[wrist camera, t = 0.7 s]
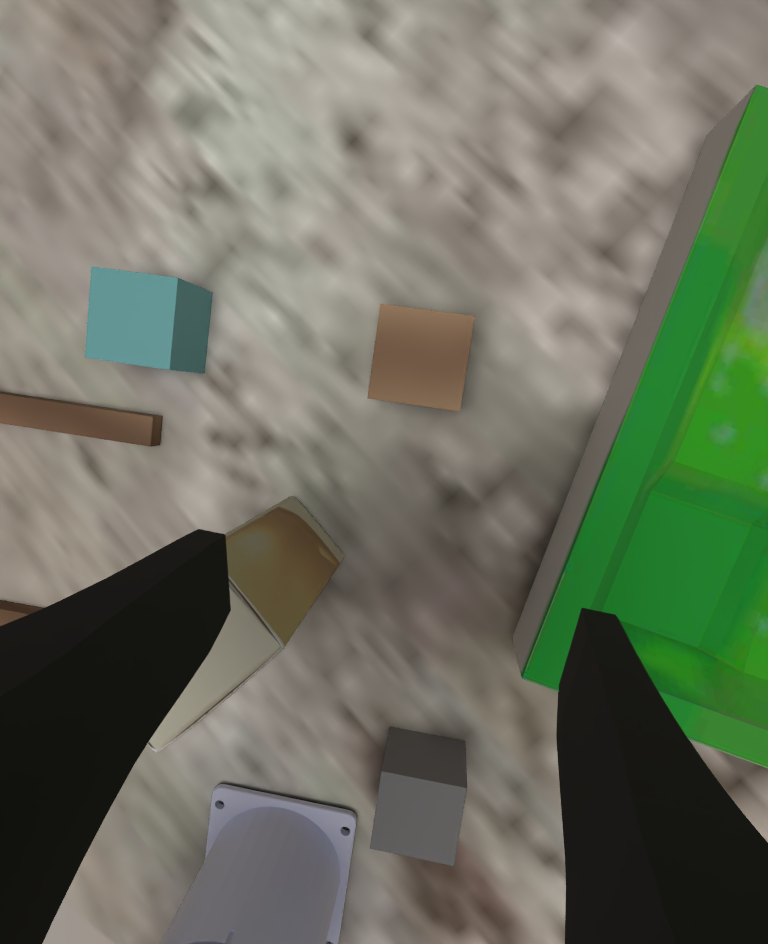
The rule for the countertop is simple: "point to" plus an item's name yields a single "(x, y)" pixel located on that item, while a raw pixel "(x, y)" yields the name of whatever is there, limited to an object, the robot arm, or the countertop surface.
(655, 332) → the tray
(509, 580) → the countertop surface
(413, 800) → the charcoal block
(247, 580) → the skincare box
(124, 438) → the frame
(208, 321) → the teal block
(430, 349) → the walnut block
